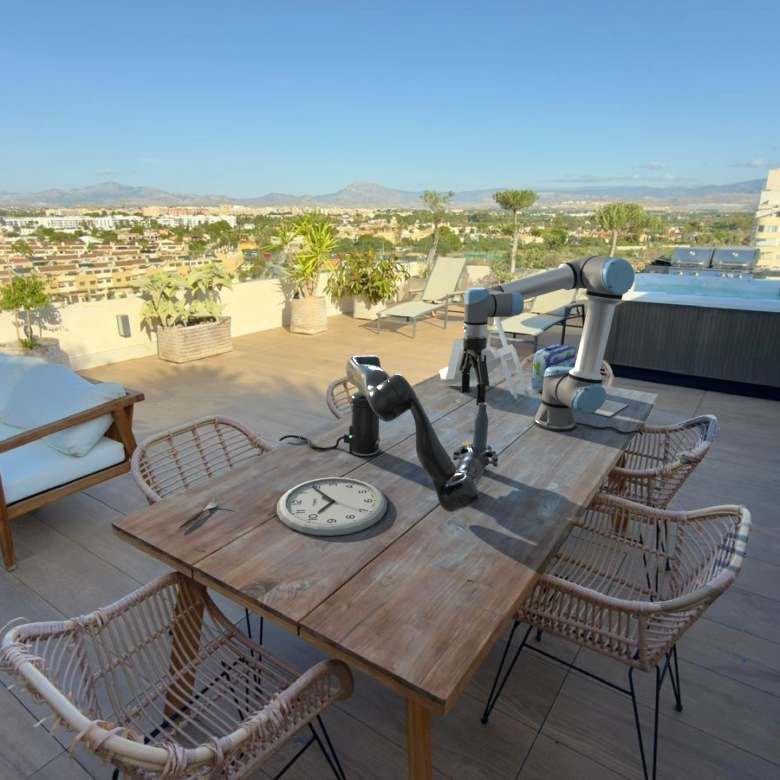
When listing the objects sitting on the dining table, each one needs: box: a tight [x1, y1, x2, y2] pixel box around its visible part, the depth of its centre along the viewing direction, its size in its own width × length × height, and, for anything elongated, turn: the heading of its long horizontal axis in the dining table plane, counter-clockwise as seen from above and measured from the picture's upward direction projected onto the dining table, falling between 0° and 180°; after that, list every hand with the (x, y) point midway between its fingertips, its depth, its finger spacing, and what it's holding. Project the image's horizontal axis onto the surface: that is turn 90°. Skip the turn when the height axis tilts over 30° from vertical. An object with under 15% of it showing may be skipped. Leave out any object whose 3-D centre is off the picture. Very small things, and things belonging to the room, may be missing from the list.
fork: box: [178, 493, 223, 529], centre depth 137 cm, size 3×16×2 cm, turn 160°
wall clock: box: [276, 476, 388, 537], centre depth 142 cm, size 30×2×30 cm
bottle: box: [472, 402, 489, 453], centre depth 162 cm, size 4×4×22 cm
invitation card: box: [592, 398, 629, 418], centre depth 226 cm, size 21×1×15 cm
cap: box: [461, 441, 473, 448], centre depth 181 cm, size 4×4×2 cm
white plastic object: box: [438, 317, 531, 400], centre depth 245 cm, size 37×45×31 cm
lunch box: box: [530, 344, 577, 393], centre depth 247 cm, size 26×11×21 cm, turn 134°
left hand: (480, 446), depth 166 cm, fingers open, 4 cm apart
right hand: (472, 398), depth 176 cm, fingers open, 13 cm apart
